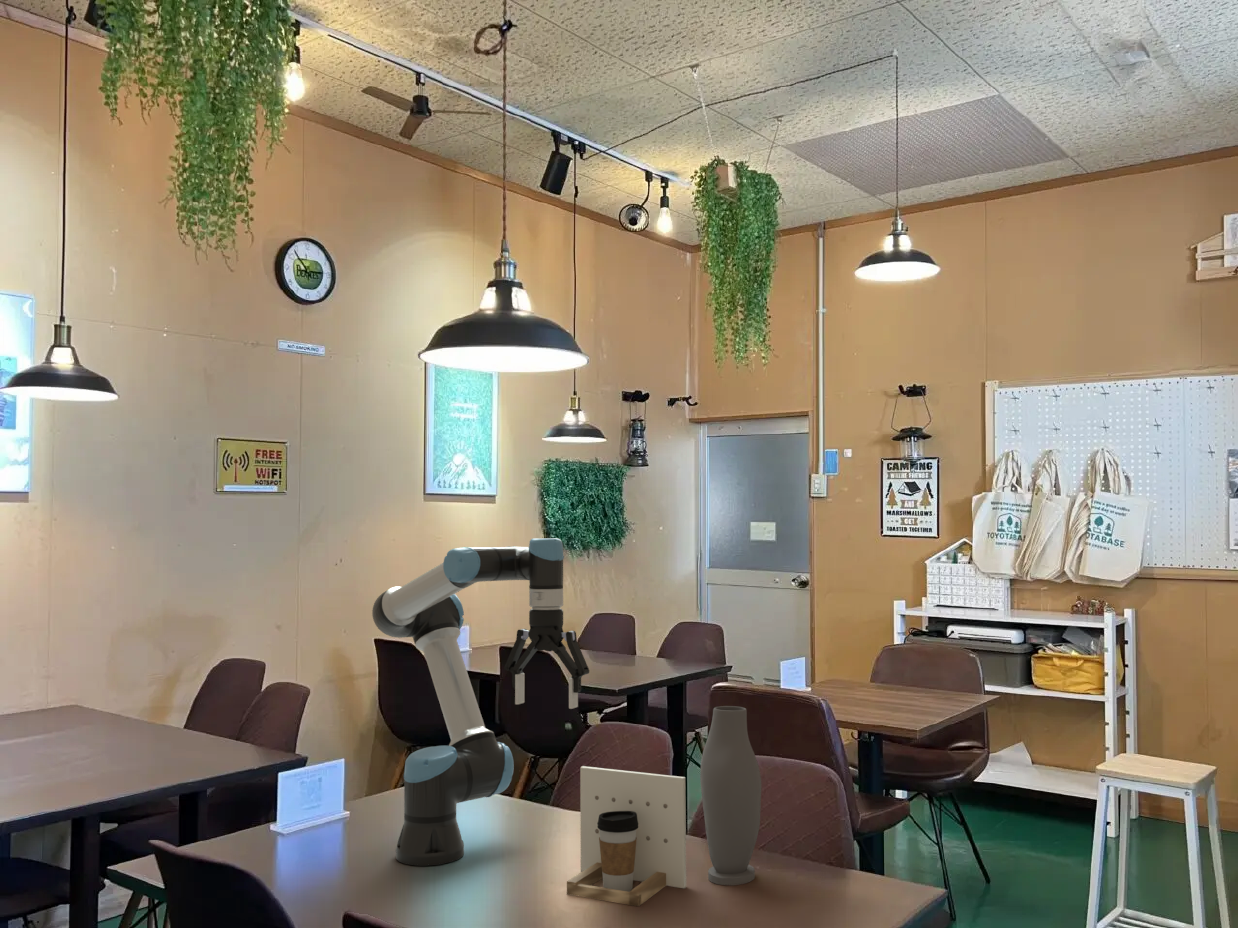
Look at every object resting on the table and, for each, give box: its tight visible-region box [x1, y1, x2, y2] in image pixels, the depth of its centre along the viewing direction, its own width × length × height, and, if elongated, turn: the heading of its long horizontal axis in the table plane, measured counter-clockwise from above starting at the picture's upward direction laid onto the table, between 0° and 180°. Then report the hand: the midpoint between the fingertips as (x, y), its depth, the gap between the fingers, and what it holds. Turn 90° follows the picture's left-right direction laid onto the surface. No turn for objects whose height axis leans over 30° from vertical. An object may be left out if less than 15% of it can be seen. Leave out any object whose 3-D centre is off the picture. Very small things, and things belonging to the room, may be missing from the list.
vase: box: [699, 705, 762, 886], centre depth 217 cm, size 13×13×35 cm
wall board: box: [579, 765, 687, 889], centre depth 215 cm, size 24×1×22 cm, turn 64°
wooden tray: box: [566, 863, 667, 907], centre depth 208 cm, size 16×13×2 cm
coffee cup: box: [597, 811, 638, 892], centre depth 209 cm, size 8×8×15 cm
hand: (546, 705), depth 224 cm, fingers open, 13 cm apart
